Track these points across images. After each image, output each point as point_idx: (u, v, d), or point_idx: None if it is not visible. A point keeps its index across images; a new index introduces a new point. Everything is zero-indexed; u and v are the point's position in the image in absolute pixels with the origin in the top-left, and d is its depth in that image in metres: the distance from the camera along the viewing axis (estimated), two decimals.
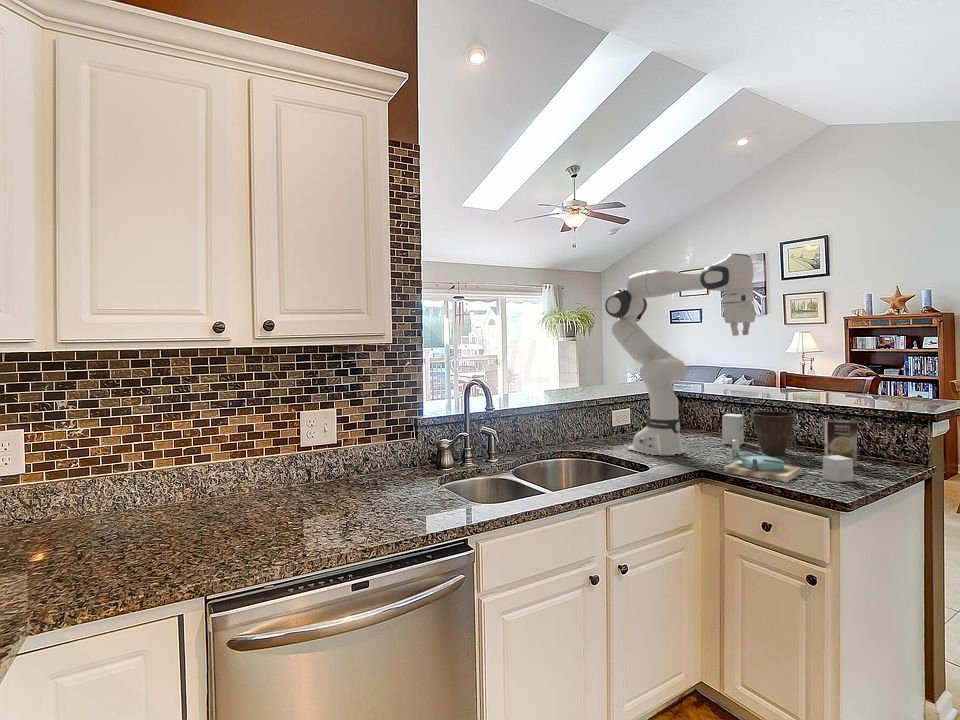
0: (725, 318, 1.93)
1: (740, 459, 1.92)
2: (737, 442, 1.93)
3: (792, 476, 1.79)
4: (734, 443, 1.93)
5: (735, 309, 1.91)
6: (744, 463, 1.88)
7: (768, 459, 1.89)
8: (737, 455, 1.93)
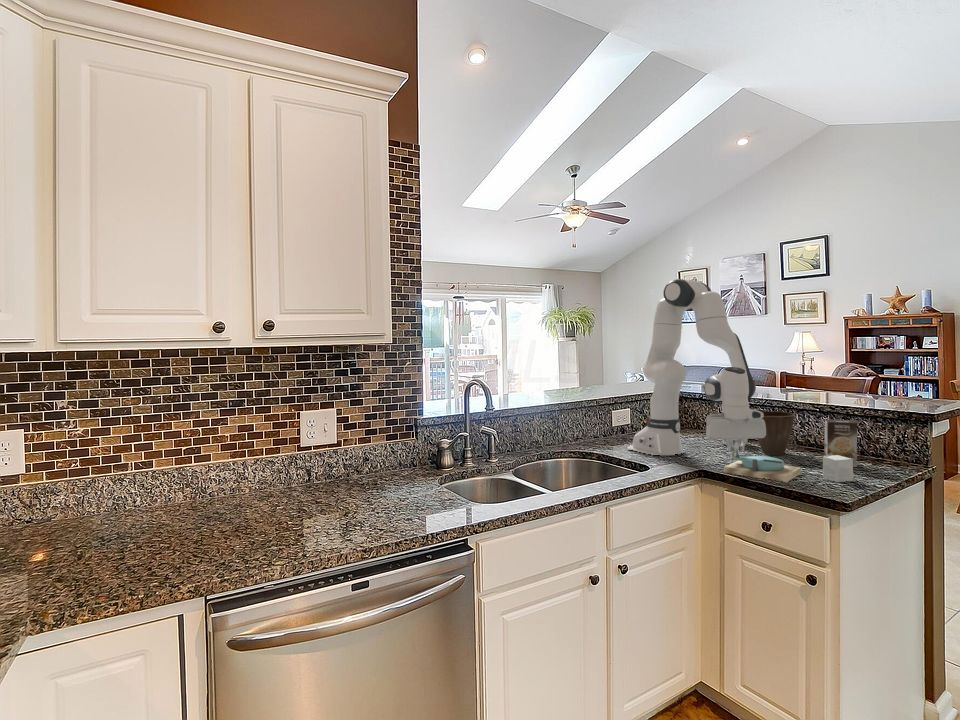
0: None
1: (740, 459, 1.92)
2: (737, 442, 1.93)
3: (792, 476, 1.79)
4: (734, 443, 1.93)
5: None
6: (744, 463, 1.88)
7: (768, 459, 1.89)
8: (737, 455, 1.93)
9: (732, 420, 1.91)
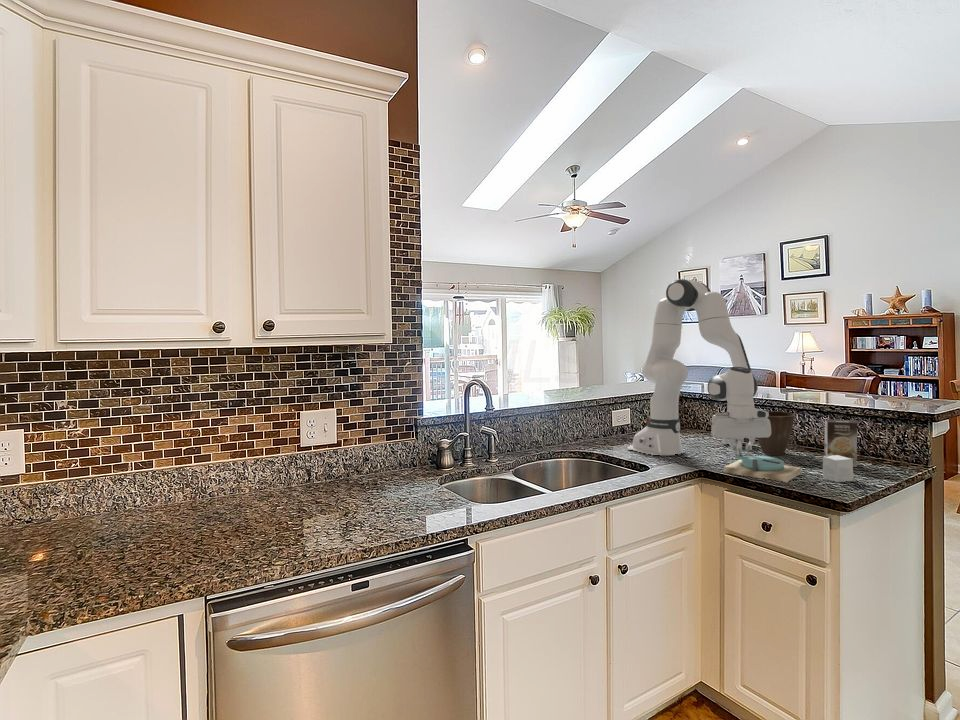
0: None
1: (742, 458, 1.94)
2: (739, 441, 1.94)
3: (792, 476, 1.79)
4: (737, 442, 1.95)
5: None
6: (742, 462, 1.89)
7: (769, 459, 1.88)
8: (739, 454, 1.94)
9: (737, 419, 1.93)
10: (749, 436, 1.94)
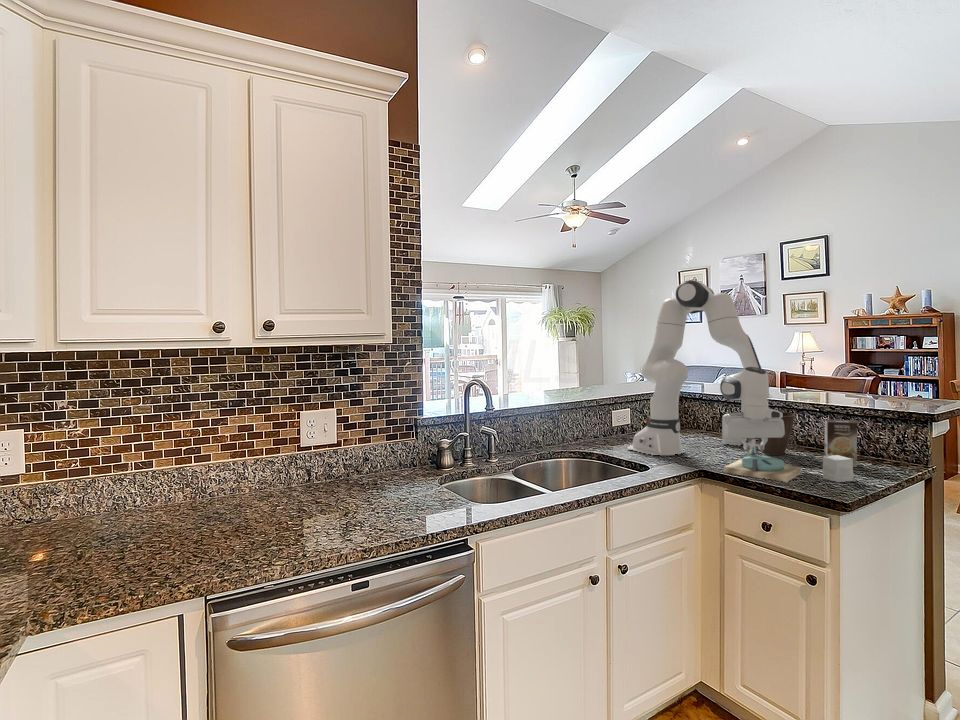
0: None
1: None
2: (751, 440, 1.96)
3: (792, 476, 1.79)
4: (749, 440, 1.97)
5: None
6: None
7: (771, 461, 1.87)
8: (751, 453, 1.96)
9: (751, 419, 1.94)
10: (762, 436, 1.95)
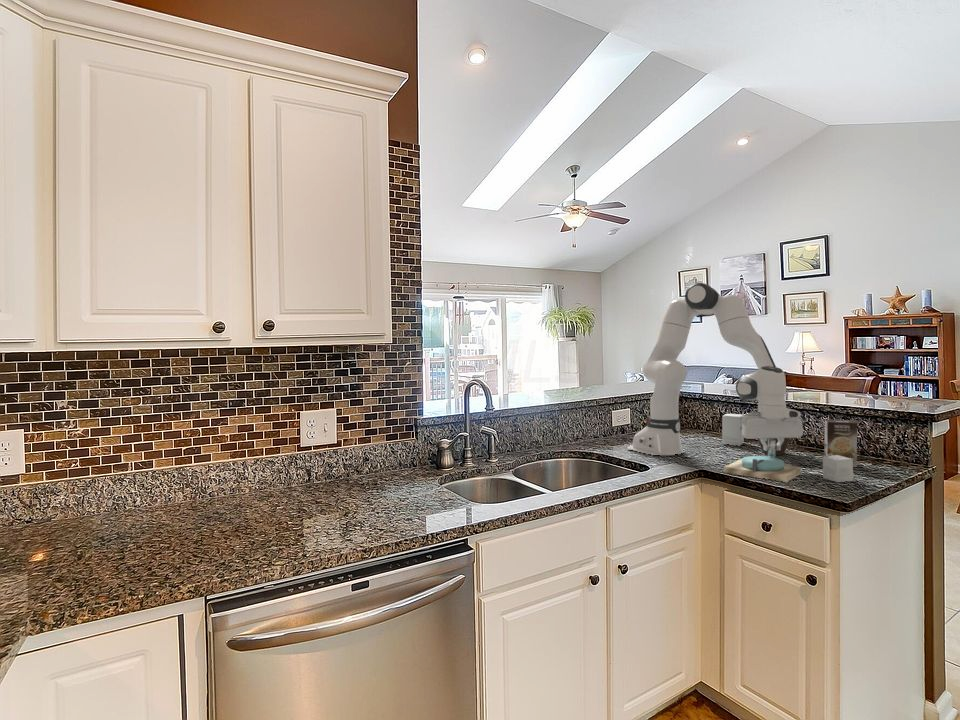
0: None
1: None
2: (768, 440, 1.94)
3: (792, 476, 1.79)
4: None
5: None
6: None
7: (769, 462, 1.85)
8: (768, 453, 1.94)
9: (769, 419, 1.91)
10: (780, 436, 1.92)
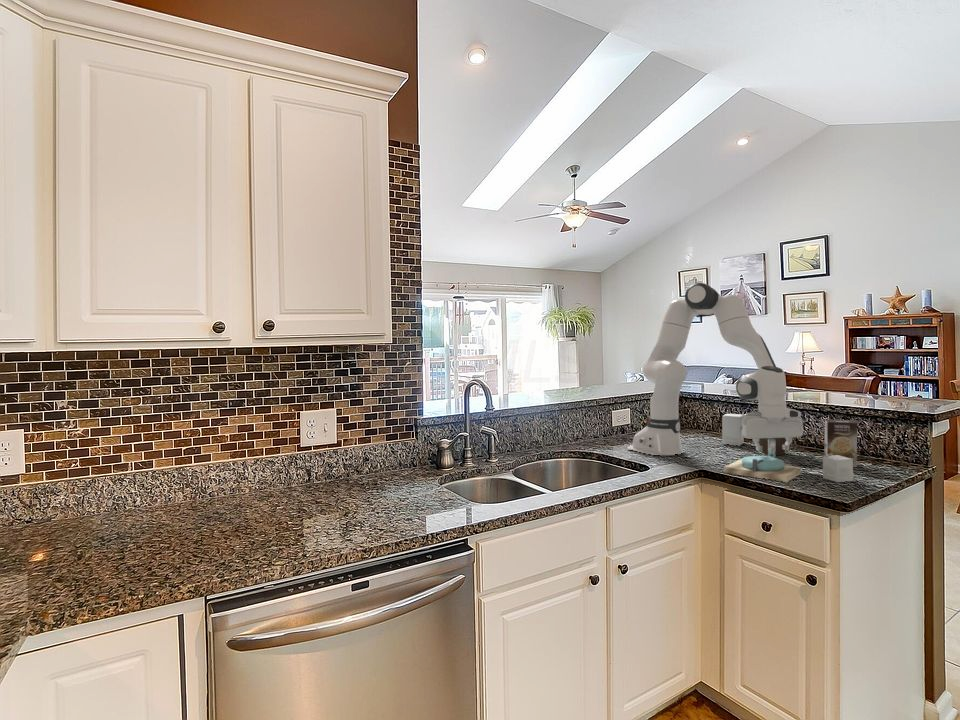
0: None
1: None
2: (768, 440, 1.94)
3: (792, 476, 1.79)
4: None
5: None
6: None
7: (769, 462, 1.85)
8: (768, 453, 1.94)
9: (769, 419, 1.91)
10: (781, 436, 1.92)
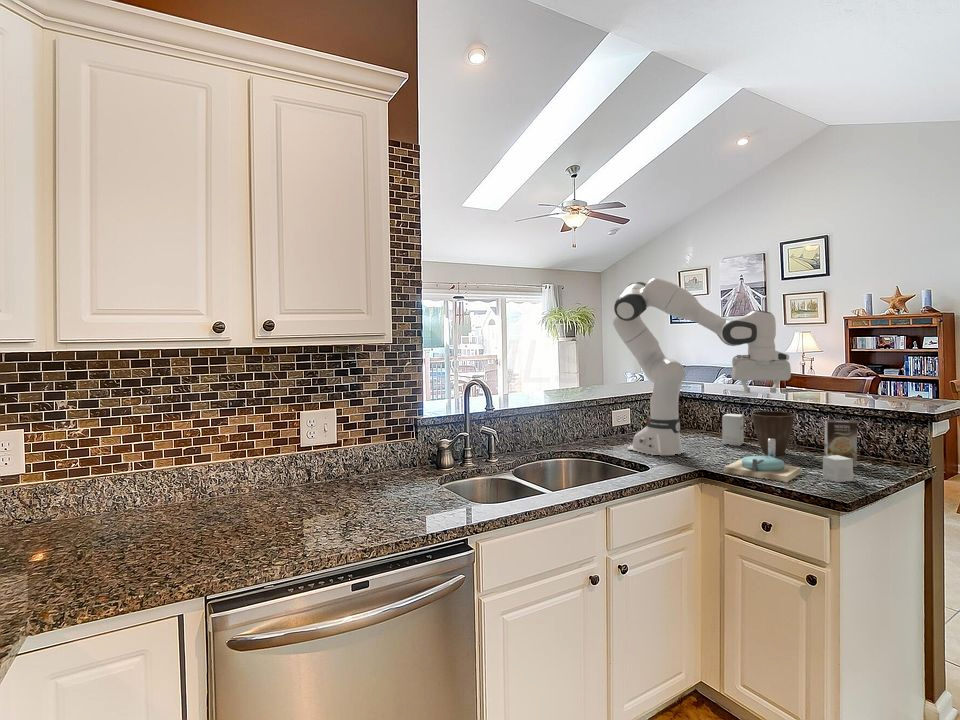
0: None
1: None
2: (768, 440, 1.94)
3: (792, 476, 1.79)
4: None
5: None
6: None
7: (769, 462, 1.85)
8: (768, 453, 1.94)
9: (758, 361, 1.95)
10: (769, 378, 1.96)
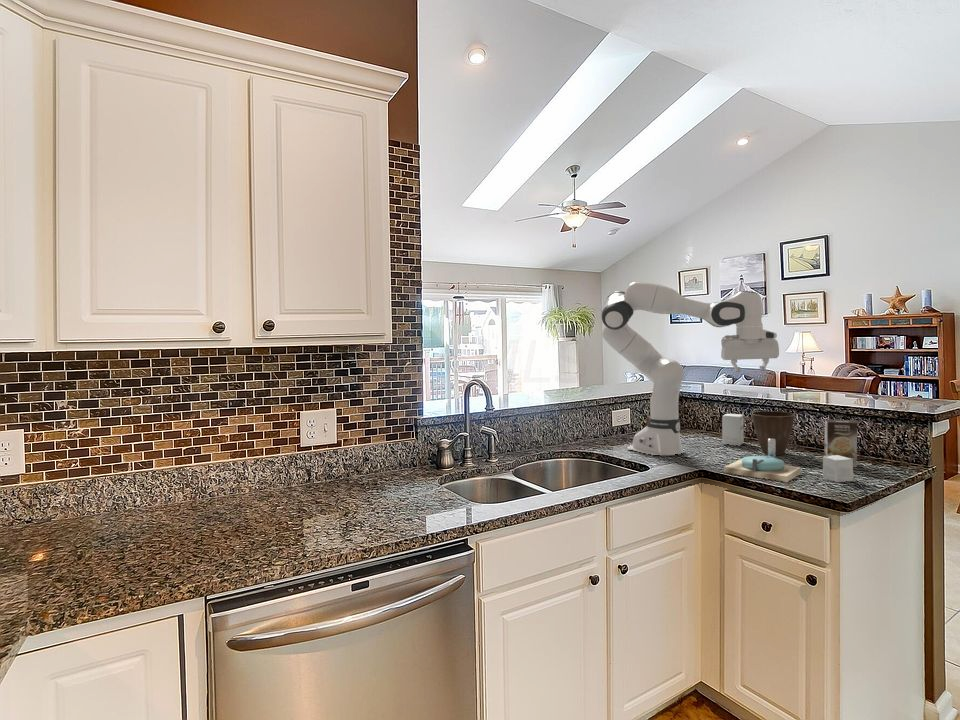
0: None
1: None
2: (768, 440, 1.94)
3: (792, 476, 1.79)
4: None
5: None
6: None
7: (769, 462, 1.85)
8: (768, 453, 1.94)
9: (746, 341, 2.00)
10: (758, 357, 2.00)
